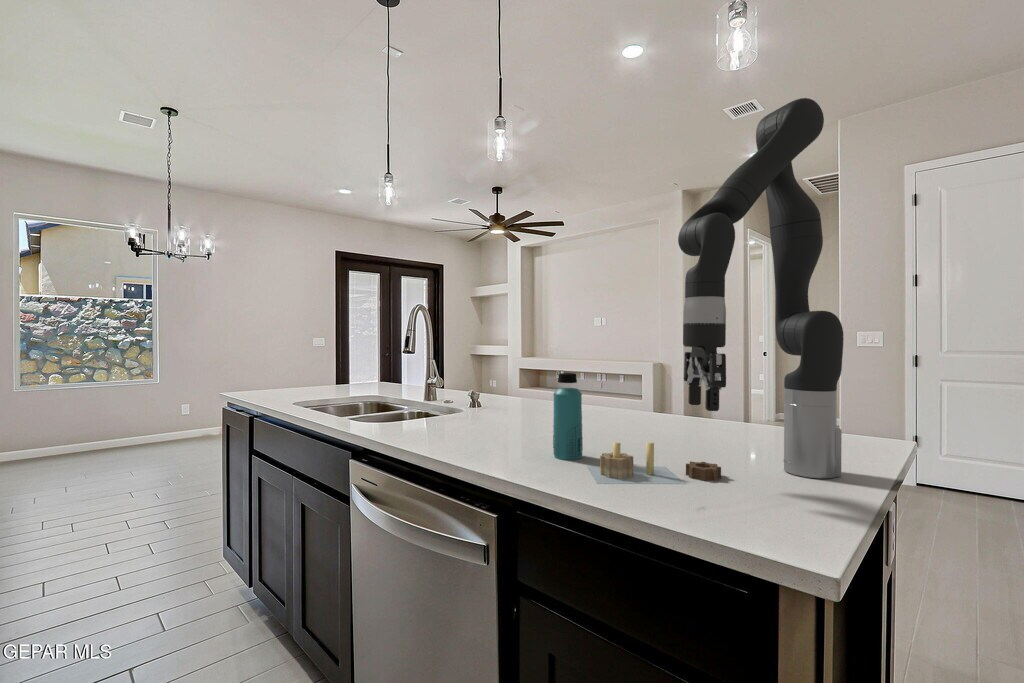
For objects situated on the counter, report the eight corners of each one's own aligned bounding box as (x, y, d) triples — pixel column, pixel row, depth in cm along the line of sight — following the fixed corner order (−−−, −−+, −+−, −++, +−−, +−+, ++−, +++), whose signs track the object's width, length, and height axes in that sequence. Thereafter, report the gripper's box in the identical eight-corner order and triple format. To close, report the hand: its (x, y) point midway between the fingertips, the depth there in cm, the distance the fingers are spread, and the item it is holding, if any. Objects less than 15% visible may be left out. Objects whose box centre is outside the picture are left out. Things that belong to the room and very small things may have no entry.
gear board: (665, 473, 99) (665, 437, 99) (686, 492, 87) (686, 450, 87) (586, 473, 99) (586, 436, 99) (596, 491, 87) (597, 450, 87)
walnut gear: (712, 479, 95) (712, 461, 95) (726, 489, 89) (726, 469, 89) (681, 479, 95) (681, 461, 95) (693, 488, 89) (693, 469, 89)
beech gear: (620, 468, 97) (620, 451, 97) (639, 476, 91) (639, 458, 91) (594, 471, 95) (594, 453, 95) (612, 480, 89) (612, 461, 89)
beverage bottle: (581, 468, 103) (582, 374, 103) (550, 466, 105) (551, 373, 104) (583, 460, 110) (583, 372, 110) (554, 459, 111) (554, 371, 111)
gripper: (741, 320, 85) (740, 413, 85) (708, 323, 99) (707, 403, 99) (698, 320, 85) (697, 413, 85) (672, 323, 99) (670, 402, 99)
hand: (702, 407), depth 92 cm, fingers open, 8 cm apart
